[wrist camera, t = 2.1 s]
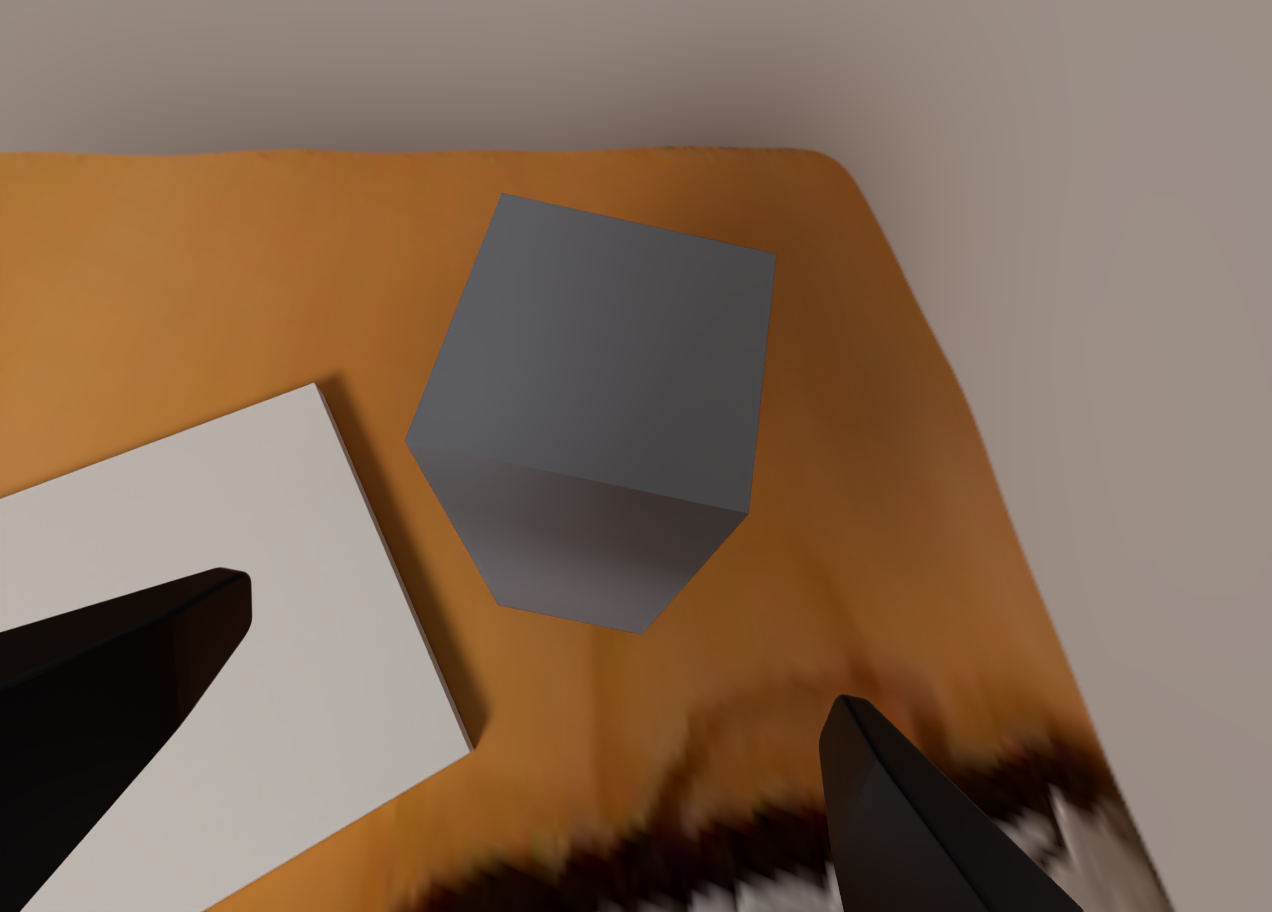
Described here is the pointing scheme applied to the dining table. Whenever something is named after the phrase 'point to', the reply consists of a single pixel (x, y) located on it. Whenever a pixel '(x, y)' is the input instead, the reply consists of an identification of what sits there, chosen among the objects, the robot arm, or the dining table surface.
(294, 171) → the dining table surface
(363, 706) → the white plate
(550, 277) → the tall block
